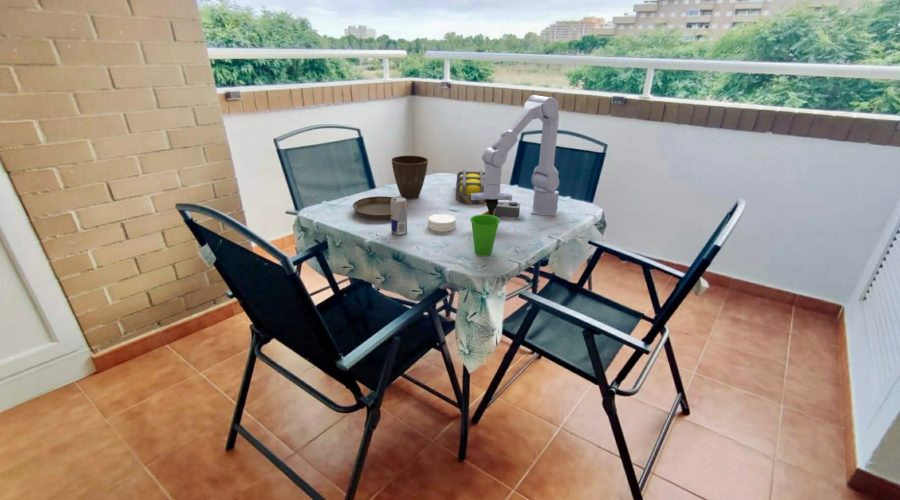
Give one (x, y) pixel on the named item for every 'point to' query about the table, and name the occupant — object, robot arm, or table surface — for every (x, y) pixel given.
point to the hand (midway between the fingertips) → (490, 218)
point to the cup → (484, 233)
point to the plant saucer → (374, 207)
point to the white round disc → (441, 222)
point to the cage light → (469, 187)
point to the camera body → (507, 209)
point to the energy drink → (398, 215)
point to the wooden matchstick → (488, 212)
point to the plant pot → (409, 174)
